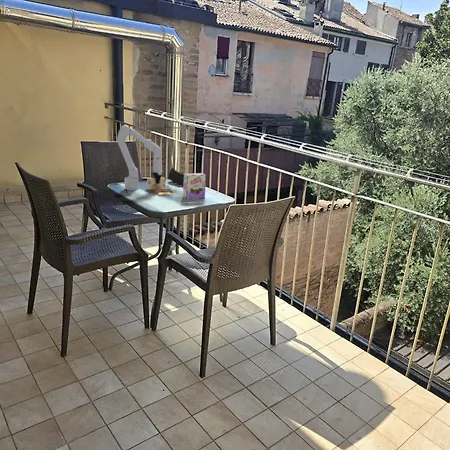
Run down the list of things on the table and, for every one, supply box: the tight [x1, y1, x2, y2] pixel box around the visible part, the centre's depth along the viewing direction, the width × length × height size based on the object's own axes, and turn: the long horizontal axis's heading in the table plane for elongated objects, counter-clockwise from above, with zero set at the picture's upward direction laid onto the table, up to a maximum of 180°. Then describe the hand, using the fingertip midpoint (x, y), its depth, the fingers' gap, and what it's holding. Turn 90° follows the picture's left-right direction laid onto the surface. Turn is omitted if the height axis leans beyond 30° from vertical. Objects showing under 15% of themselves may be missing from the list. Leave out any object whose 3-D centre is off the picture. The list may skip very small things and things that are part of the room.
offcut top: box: [157, 192, 172, 197], centre depth 276 cm, size 8×4×1 cm, turn 114°
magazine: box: [168, 167, 185, 187], centre depth 311 cm, size 17×3×30 cm
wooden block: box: [147, 177, 167, 191], centre depth 291 cm, size 12×2×8 cm, turn 114°
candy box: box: [182, 172, 207, 200], centre depth 274 cm, size 14×6×16 cm, turn 117°
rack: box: [148, 188, 174, 194], centre depth 283 cm, size 16×5×2 cm, turn 114°
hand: (157, 183), depth 291 cm, fingers closed on wooden block, 2 cm apart
